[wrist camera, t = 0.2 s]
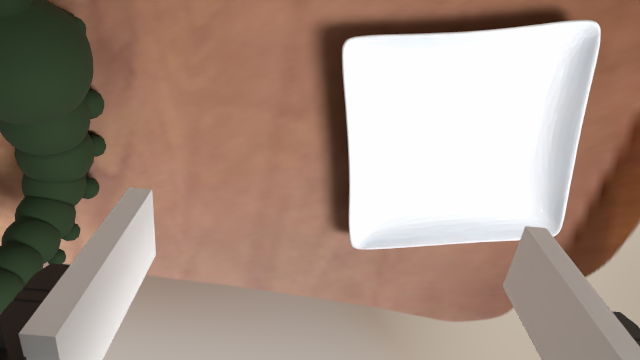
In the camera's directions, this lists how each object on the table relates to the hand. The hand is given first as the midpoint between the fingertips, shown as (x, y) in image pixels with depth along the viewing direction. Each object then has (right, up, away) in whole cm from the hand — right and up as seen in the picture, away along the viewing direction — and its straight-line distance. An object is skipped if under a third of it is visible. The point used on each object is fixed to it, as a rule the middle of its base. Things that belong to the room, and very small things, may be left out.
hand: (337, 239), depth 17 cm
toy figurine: (-24, +10, +26) cm, 37 cm away
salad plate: (+12, +6, +29) cm, 32 cm away
